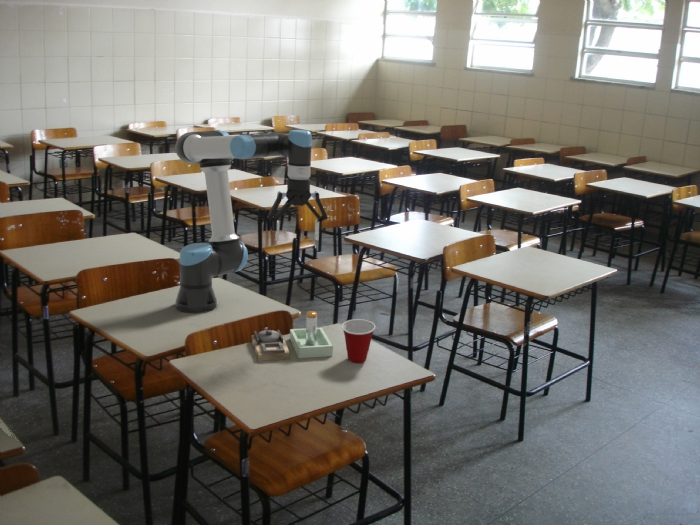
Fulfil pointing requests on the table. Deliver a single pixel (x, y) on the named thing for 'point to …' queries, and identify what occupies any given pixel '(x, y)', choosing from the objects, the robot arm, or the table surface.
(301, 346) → the tray
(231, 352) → the table surface
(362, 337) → the plastic cup
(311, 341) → the glass bottle
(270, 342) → the pulley block
